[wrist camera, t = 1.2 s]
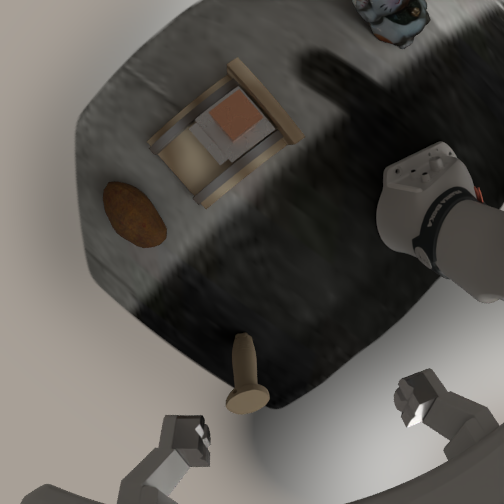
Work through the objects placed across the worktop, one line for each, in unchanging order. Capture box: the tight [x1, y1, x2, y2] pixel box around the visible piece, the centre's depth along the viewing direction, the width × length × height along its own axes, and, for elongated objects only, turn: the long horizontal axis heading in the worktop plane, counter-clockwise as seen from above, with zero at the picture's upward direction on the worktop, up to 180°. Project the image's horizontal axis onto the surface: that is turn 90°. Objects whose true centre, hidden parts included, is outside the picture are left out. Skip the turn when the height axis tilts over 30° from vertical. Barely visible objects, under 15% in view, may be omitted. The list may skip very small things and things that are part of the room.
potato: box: [103, 182, 167, 248], centre depth 35 cm, size 7×12×7 cm, turn 46°
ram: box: [189, 86, 275, 165], centre depth 28 cm, size 8×7×12 cm
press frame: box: [147, 57, 305, 209], centre depth 33 cm, size 16×13×6 cm
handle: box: [226, 333, 270, 414], centre depth 41 cm, size 5×6×15 cm
